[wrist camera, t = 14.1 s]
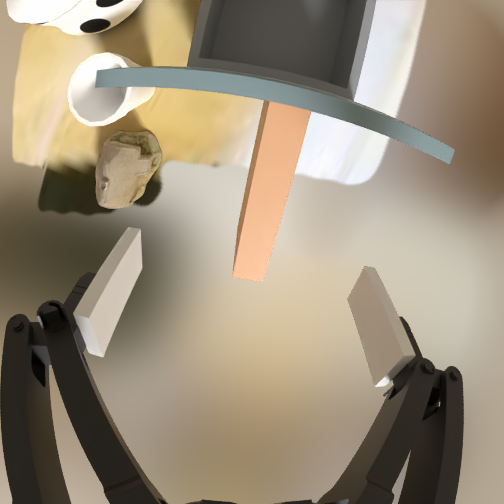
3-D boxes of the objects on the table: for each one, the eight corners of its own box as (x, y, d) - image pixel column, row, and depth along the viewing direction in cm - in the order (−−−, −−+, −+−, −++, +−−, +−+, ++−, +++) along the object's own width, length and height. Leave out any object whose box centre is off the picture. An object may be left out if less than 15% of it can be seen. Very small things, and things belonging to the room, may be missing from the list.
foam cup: (176, 89, 36) (146, 92, 25) (132, 124, 38) (92, 141, 28) (145, 47, 31) (106, 37, 20) (103, 84, 34) (57, 90, 23)
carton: (227, -35, 23) (221, -62, 15) (355, -6, 25) (380, -24, 17) (201, 71, 34) (186, 66, 26) (331, 97, 36) (353, 100, 28)
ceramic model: (110, 120, 38) (78, 132, 29) (168, 136, 40) (146, 151, 32) (97, 192, 45) (69, 217, 37) (149, 210, 47) (128, 239, 39)
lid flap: (96, 70, 10) (104, 254, 17) (454, 149, 12) (379, 297, 19) (186, 66, 26) (175, 158, 33) (353, 101, 28) (326, 186, 35)
